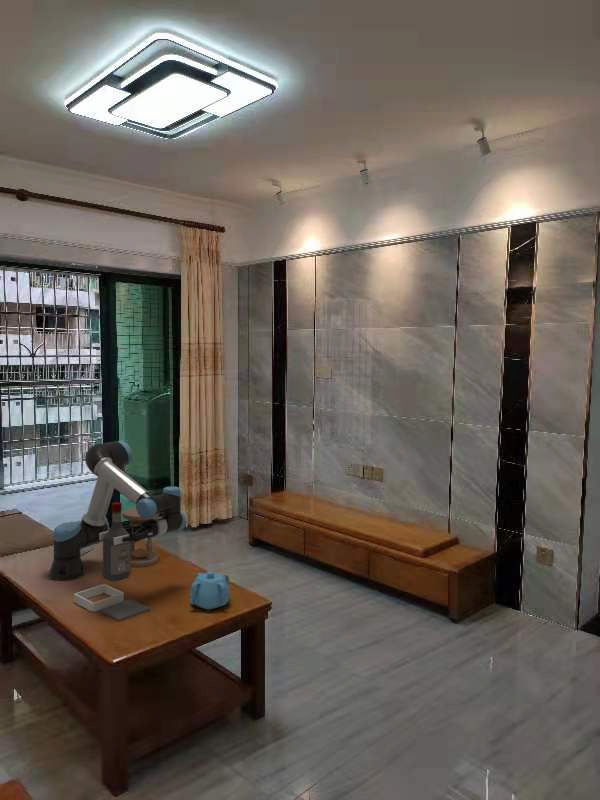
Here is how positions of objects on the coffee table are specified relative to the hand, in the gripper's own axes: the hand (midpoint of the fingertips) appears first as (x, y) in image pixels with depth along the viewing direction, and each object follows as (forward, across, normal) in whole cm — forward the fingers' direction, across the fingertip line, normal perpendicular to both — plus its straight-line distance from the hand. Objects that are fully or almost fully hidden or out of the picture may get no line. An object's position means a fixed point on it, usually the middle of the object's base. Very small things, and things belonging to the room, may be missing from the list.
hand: (106, 539), depth 229 cm
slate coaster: (-5, -5, -29) cm, 30 cm away
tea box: (-30, +73, -29) cm, 84 cm away
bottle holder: (-3, +11, -29) cm, 31 cm away
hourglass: (-44, +39, -29) cm, 66 cm away
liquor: (-4, 0, -17) cm, 17 cm away
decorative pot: (-32, -25, -30) cm, 50 cm away
